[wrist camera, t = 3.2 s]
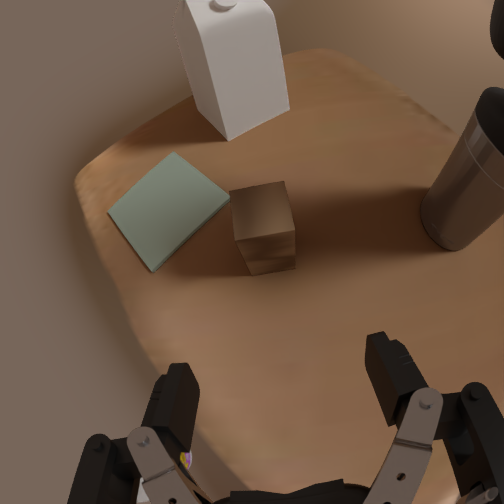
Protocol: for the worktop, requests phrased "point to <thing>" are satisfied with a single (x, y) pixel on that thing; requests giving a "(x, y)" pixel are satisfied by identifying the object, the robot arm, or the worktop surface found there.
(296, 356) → the worktop surface
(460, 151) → the robot arm
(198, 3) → the milk
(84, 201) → the worktop surface
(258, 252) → the walnut block
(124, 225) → the sage board
